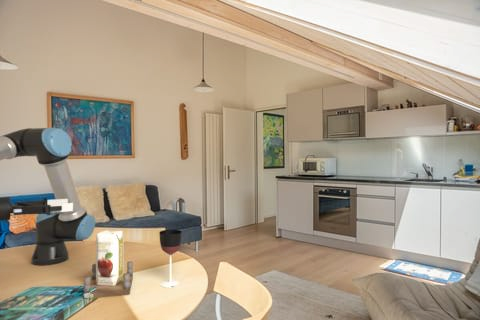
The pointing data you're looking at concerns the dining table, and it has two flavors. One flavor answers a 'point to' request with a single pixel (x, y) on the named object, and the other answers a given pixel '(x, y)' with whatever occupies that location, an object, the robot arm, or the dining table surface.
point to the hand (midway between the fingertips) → (70, 204)
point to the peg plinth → (109, 291)
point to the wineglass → (170, 249)
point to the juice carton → (109, 258)
